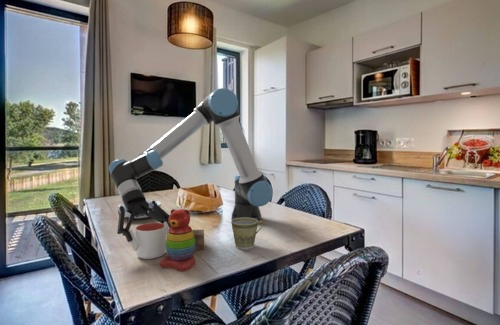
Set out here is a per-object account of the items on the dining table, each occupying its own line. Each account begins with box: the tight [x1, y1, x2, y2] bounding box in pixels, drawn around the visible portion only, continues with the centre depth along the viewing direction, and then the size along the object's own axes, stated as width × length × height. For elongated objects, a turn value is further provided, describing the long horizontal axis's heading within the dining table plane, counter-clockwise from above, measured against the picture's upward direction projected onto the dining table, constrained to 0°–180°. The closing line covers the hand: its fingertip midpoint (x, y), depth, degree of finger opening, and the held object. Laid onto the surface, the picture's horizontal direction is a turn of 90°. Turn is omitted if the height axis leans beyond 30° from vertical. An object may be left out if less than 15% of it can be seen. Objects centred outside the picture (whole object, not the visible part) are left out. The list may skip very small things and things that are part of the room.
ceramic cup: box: [231, 217, 265, 251], centre depth 110 cm, size 13×10×10 cm
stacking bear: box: [159, 208, 196, 272], centre depth 95 cm, size 11×10×18 cm
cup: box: [135, 222, 167, 260], centre depth 103 cm, size 10×10×10 cm
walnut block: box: [192, 229, 205, 252], centre depth 109 cm, size 6×6×6 cm
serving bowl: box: [118, 199, 162, 220], centre depth 154 cm, size 21×21×7 cm
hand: (155, 243), depth 101 cm, fingers open, 12 cm apart
